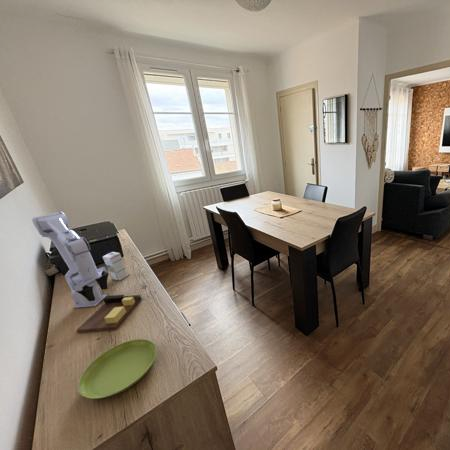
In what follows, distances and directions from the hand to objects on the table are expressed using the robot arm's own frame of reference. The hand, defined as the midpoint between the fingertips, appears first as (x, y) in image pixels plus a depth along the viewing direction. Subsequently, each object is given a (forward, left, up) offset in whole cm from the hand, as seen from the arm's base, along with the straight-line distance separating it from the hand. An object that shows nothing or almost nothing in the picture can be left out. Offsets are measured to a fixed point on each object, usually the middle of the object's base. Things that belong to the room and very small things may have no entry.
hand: (98, 294), depth 102 cm
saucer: (+26, -31, -10) cm, 42 cm away
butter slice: (+9, +2, -8) cm, 12 cm away
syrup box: (-12, +29, -10) cm, 32 cm away
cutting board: (+4, -2, -9) cm, 10 cm away
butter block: (+9, -6, -8) cm, 13 cm away
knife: (+5, +5, -8) cm, 11 cm away
